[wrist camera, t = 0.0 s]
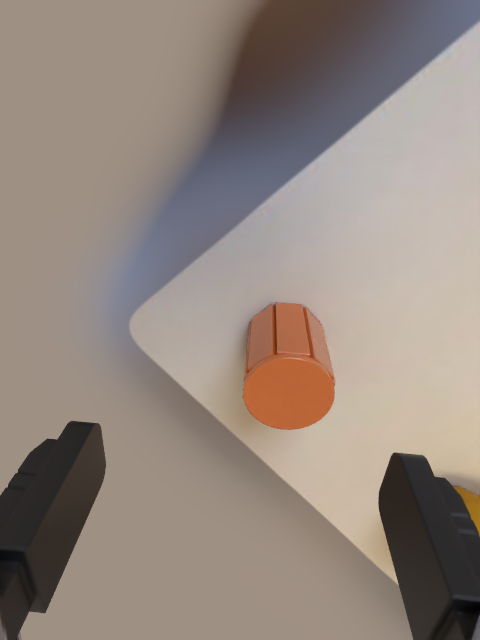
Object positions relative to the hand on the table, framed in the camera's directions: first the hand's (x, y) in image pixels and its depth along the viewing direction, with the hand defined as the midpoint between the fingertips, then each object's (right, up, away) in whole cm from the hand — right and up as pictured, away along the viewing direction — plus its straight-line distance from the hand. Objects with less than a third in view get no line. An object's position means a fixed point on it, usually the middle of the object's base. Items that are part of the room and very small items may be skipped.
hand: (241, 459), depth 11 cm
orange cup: (+4, +2, +23) cm, 24 cm away
